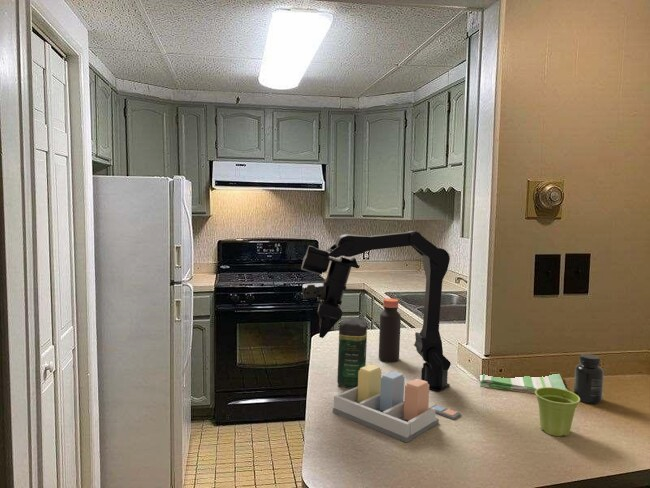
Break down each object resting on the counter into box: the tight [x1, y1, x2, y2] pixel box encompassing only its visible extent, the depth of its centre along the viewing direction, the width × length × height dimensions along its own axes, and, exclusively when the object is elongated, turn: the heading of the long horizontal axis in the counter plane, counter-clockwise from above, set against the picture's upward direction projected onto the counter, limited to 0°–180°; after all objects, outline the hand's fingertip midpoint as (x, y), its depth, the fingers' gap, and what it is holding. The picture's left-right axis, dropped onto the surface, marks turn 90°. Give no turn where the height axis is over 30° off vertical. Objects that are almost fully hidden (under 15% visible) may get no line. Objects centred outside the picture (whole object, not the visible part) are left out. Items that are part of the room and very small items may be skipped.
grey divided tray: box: [332, 386, 440, 443], centre depth 119 cm, size 22×14×4 cm, turn 47°
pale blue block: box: [380, 371, 405, 411], centre depth 121 cm, size 4×5×9 cm
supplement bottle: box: [573, 353, 605, 405], centre depth 133 cm, size 7×7×12 cm
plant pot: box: [534, 387, 581, 437], centre depth 114 cm, size 9×9×9 cm
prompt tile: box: [428, 404, 462, 420], centre depth 123 cm, size 7×4×1 cm, turn 47°
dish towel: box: [479, 373, 570, 394], centre depth 146 cm, size 18×23×3 cm
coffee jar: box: [336, 317, 368, 389], centre depth 141 cm, size 10×8×19 cm
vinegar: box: [378, 297, 402, 363], centre depth 162 cm, size 7×7×20 cm
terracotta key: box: [404, 378, 430, 421], centre depth 116 cm, size 4×5×9 cm
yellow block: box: [358, 363, 382, 402], centre depth 126 cm, size 4×5×9 cm
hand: (320, 332), depth 137 cm, fingers open, 9 cm apart
